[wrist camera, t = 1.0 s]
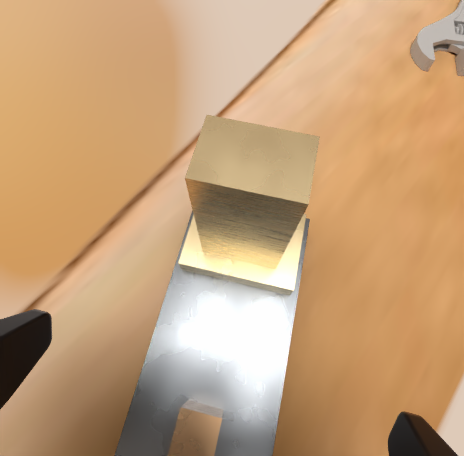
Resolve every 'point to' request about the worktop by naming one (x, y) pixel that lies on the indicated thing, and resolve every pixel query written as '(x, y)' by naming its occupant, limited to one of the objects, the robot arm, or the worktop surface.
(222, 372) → the brushed steel slab
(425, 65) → the adjustable wrench
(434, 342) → the worktop surface
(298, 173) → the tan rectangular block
